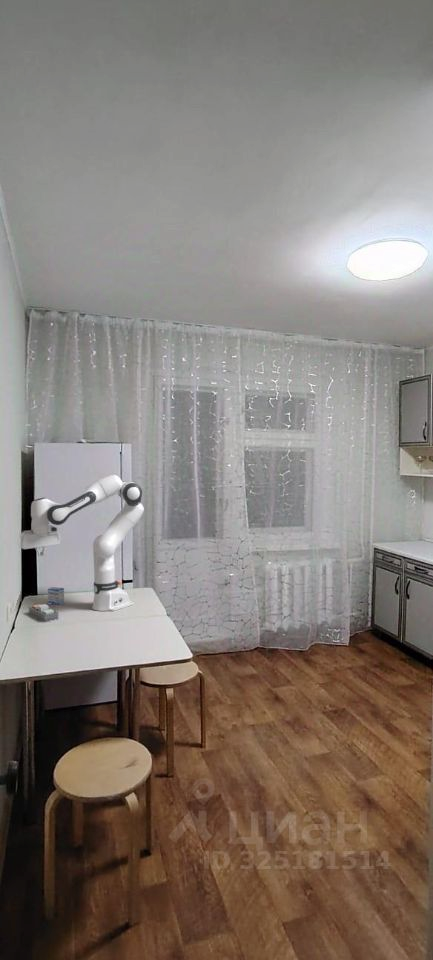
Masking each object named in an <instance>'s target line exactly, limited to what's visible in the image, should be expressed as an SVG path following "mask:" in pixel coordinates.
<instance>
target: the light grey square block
mask: <svg viewBox="0 0 433 960" xmlns="http://www.w3.org/2000/svg"><path fill="white" fill-rule="evenodd" d="M49 608H50V607H49V604H45V603H44V604H42V605H39V606H38V611H39V612H42V611H45V610H49Z"/></svg>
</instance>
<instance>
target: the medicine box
mask: <svg viewBox="0 0 433 960" xmlns="http://www.w3.org/2000/svg"><path fill="white" fill-rule="evenodd" d="M48 603H51V604H50V605H56V604H60V605H62V603H63V604H64V603H65V588H64V587H55V586H54V587H53V586H52V587H48V588H47V604H48Z"/></svg>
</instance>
